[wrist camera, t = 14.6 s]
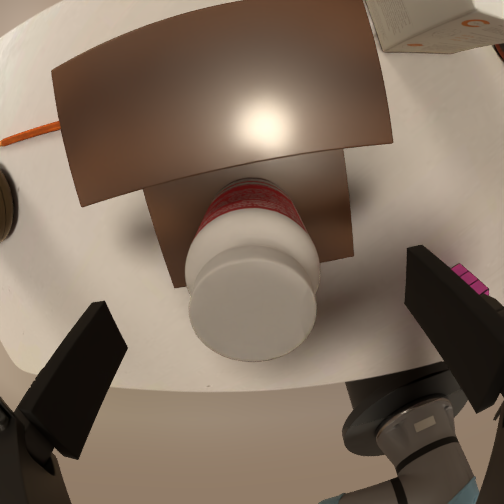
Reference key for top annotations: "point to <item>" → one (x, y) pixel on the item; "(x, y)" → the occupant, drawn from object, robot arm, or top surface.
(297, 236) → the pill bottle
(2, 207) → the lamp
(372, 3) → the small box
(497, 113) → the top surface
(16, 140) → the pencil
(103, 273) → the top surface
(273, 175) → the shelf
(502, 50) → the supplement bottle
